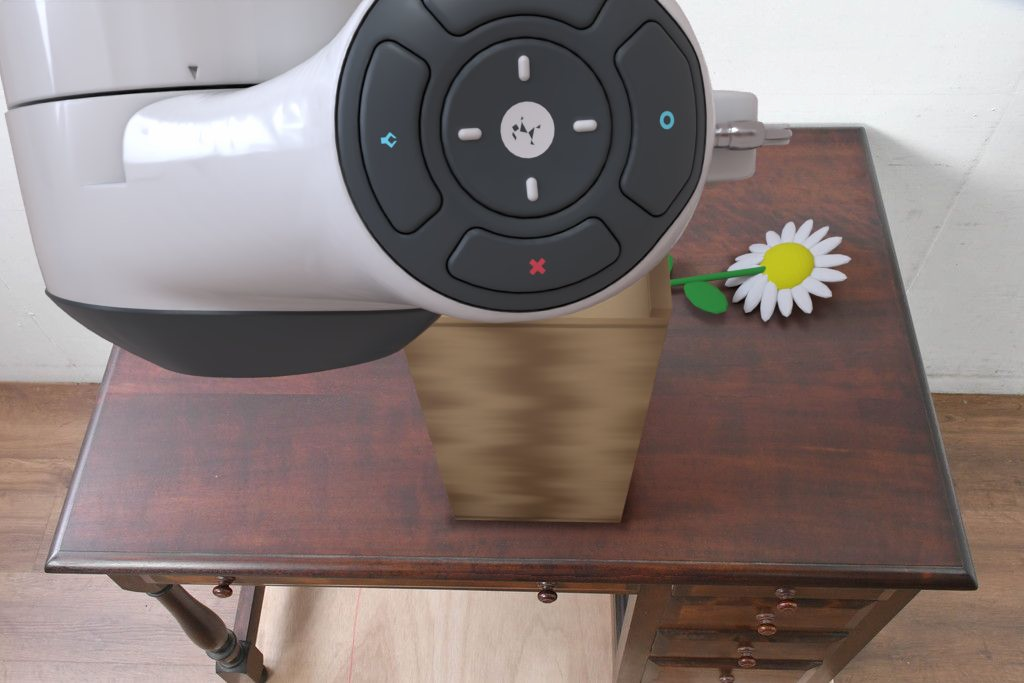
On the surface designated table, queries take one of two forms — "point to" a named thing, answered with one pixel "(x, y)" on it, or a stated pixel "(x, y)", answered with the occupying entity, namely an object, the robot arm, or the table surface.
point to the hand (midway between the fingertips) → (528, 145)
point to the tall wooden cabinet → (543, 406)
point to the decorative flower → (773, 273)
